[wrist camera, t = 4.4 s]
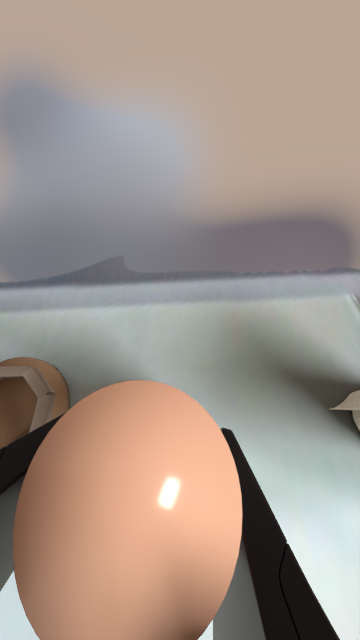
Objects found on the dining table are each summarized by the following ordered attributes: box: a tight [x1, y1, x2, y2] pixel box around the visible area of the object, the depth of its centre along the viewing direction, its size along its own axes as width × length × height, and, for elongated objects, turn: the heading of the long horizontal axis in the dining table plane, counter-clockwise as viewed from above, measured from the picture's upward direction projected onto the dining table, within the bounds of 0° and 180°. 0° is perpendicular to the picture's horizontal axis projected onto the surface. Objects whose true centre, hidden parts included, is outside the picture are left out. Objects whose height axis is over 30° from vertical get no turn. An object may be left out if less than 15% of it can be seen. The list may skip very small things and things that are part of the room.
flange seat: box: [0, 357, 70, 449], centre depth 19 cm, size 11×11×2 cm
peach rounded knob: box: [13, 380, 242, 640], centre depth 9 cm, size 5×5×10 cm
